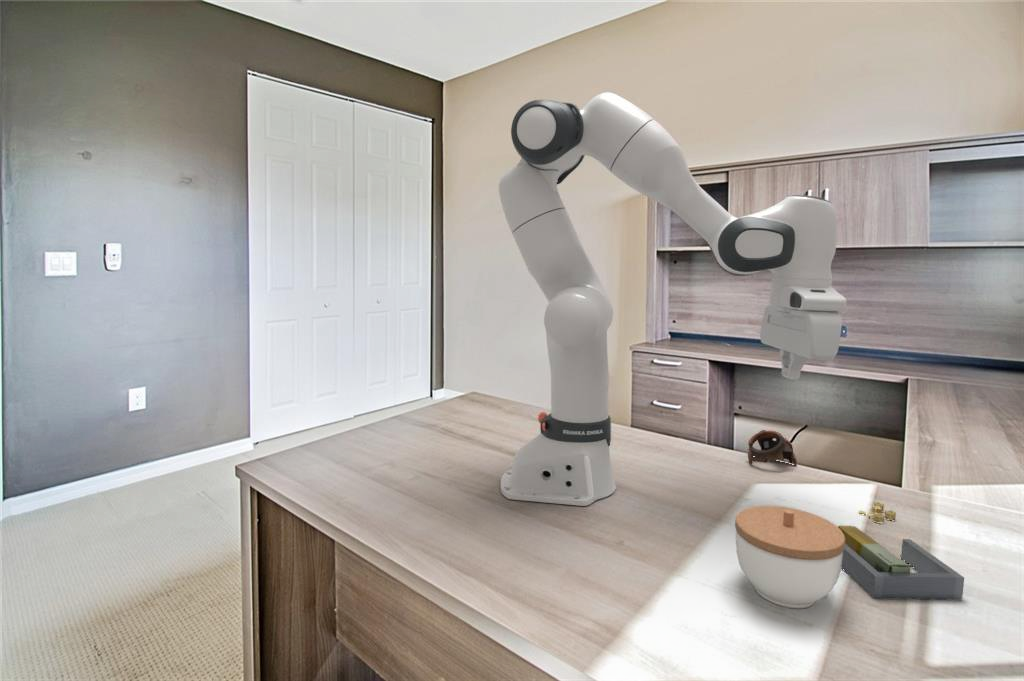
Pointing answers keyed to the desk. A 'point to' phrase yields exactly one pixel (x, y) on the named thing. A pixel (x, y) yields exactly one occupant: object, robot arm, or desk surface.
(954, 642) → the desk surface
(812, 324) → the robot arm
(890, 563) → the medication box
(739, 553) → the lidded white bowl
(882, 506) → the dice set
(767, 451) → the brown jagged ring
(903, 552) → the bracket
